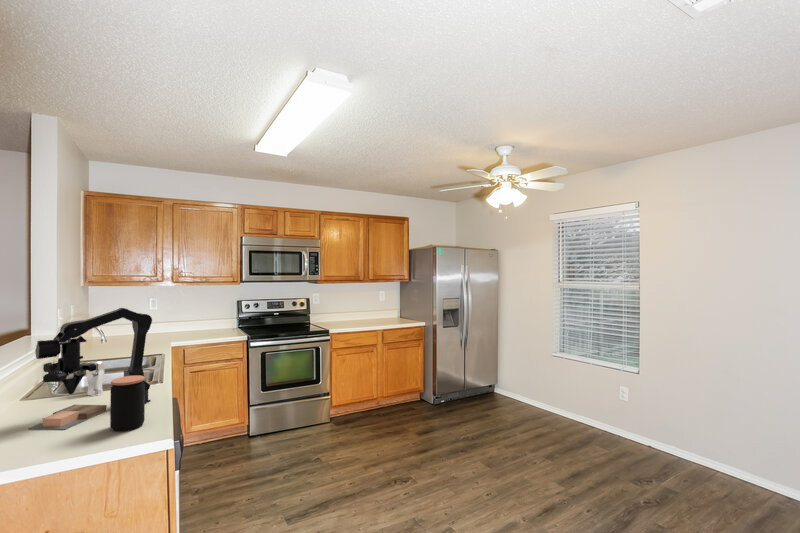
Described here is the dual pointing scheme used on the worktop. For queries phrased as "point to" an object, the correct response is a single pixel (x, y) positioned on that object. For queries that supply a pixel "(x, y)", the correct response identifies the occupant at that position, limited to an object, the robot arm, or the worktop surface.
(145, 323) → the robot arm
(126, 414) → the coffee jar
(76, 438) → the worktop surface
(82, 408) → the walnut ledge
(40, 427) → the charcoal mat
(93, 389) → the beer glass
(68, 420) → the terracotta tile
